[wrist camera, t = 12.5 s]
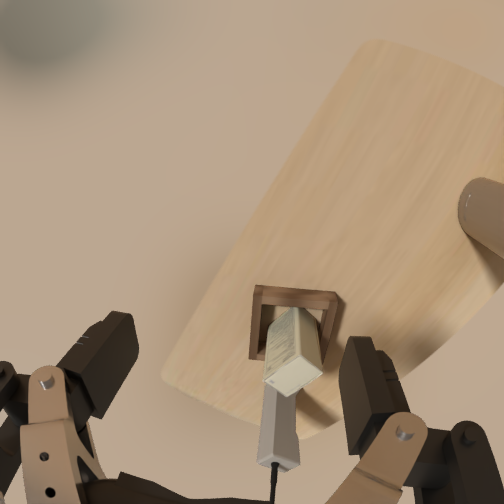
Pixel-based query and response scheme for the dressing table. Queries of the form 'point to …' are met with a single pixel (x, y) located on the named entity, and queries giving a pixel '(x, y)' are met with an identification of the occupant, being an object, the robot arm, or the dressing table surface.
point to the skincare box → (292, 352)
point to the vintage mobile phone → (278, 435)
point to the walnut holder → (292, 299)
